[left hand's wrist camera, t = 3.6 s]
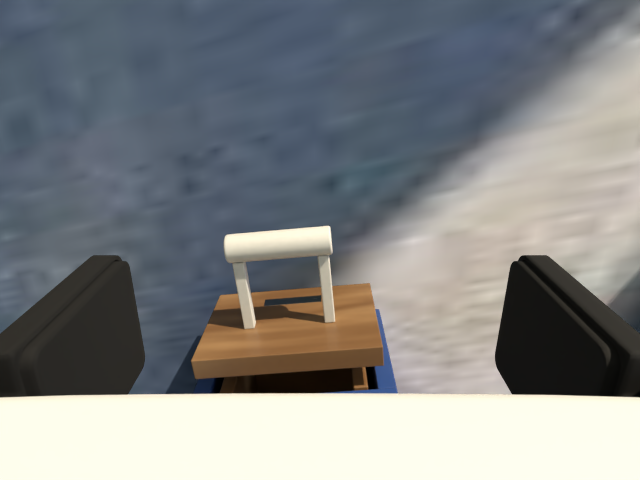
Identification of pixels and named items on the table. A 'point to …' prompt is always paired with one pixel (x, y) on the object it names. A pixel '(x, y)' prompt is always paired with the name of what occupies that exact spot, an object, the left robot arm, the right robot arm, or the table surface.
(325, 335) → the drawer
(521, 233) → the table surface
